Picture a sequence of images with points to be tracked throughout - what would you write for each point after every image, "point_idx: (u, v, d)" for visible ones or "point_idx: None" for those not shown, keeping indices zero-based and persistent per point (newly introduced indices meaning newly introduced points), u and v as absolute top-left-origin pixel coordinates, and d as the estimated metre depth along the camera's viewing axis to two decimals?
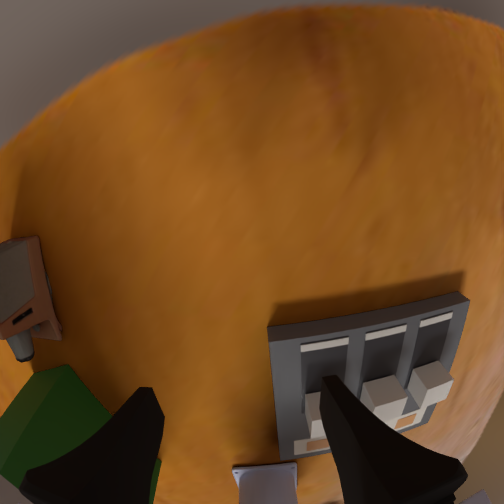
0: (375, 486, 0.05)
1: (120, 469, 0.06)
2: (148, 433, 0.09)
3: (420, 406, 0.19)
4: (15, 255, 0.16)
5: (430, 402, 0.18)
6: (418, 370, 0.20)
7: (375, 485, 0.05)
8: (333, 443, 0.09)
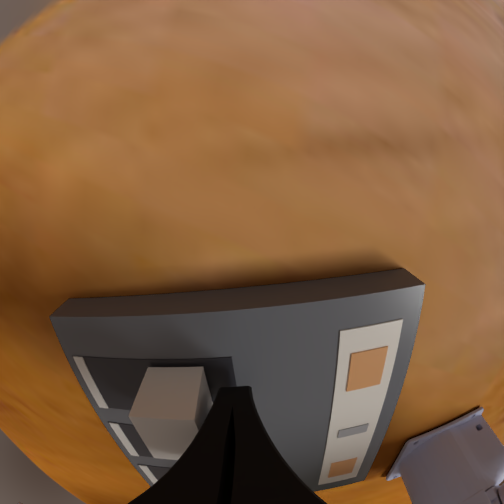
0: None
1: (227, 479, 0.06)
2: None
3: None
4: None
5: None
6: None
7: None
8: None
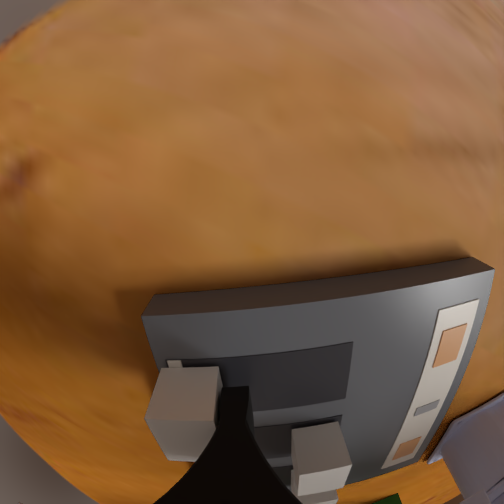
0: None
1: None
2: None
3: None
4: None
5: None
6: None
7: None
8: None
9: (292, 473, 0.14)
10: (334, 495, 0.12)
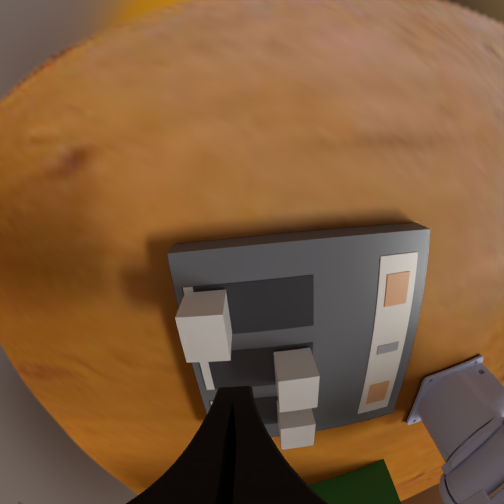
0: None
1: (225, 479, 0.06)
2: (235, 435, 0.09)
3: None
4: None
5: (221, 346, 0.15)
6: None
7: None
8: None
9: (277, 403, 0.20)
10: (312, 421, 0.17)
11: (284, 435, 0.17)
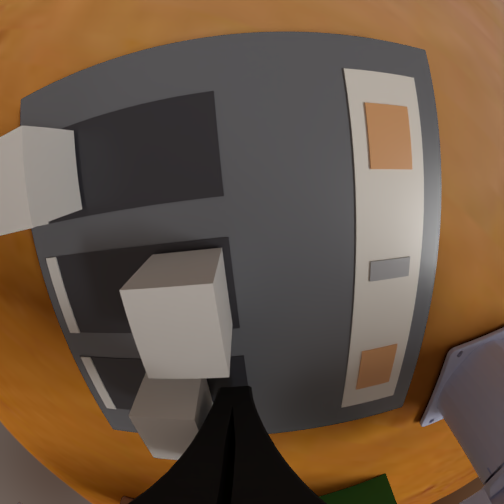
0: None
1: (226, 479, 0.06)
2: None
3: (30, 227, 0.06)
4: None
5: (19, 194, 0.06)
6: None
7: None
8: None
9: None
10: (190, 412, 0.09)
11: (142, 431, 0.09)
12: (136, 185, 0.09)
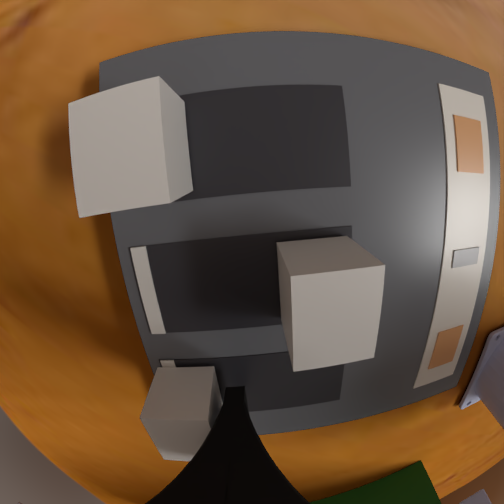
0: None
1: None
2: None
3: (162, 203, 0.06)
4: None
5: (149, 159, 0.06)
6: None
7: None
8: None
9: (157, 372, 0.11)
10: (203, 413, 0.09)
11: (153, 433, 0.09)
12: (263, 168, 0.09)
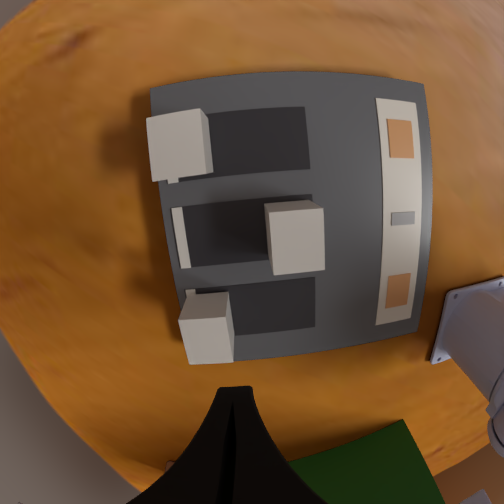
0: None
1: (225, 479, 0.06)
2: (235, 435, 0.09)
3: (201, 174, 0.12)
4: None
5: (195, 151, 0.12)
6: None
7: None
8: None
9: (187, 298, 0.17)
10: (222, 313, 0.14)
11: (186, 335, 0.14)
12: (255, 159, 0.15)
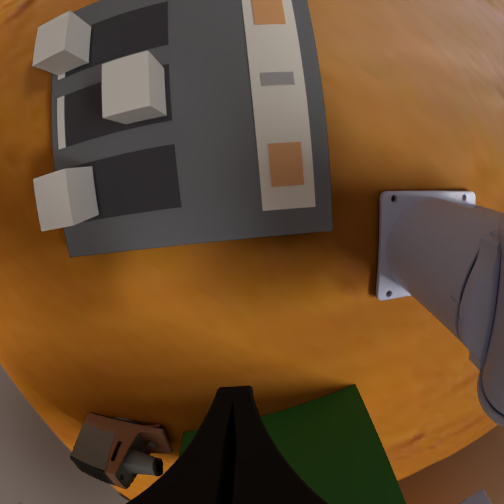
0: None
1: (225, 479, 0.06)
2: (235, 435, 0.09)
3: (62, 51, 0.10)
4: (83, 434, 0.21)
5: (60, 37, 0.09)
6: None
7: None
8: None
9: None
10: (66, 168, 0.12)
11: (37, 195, 0.12)
12: (121, 46, 0.12)
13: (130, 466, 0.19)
